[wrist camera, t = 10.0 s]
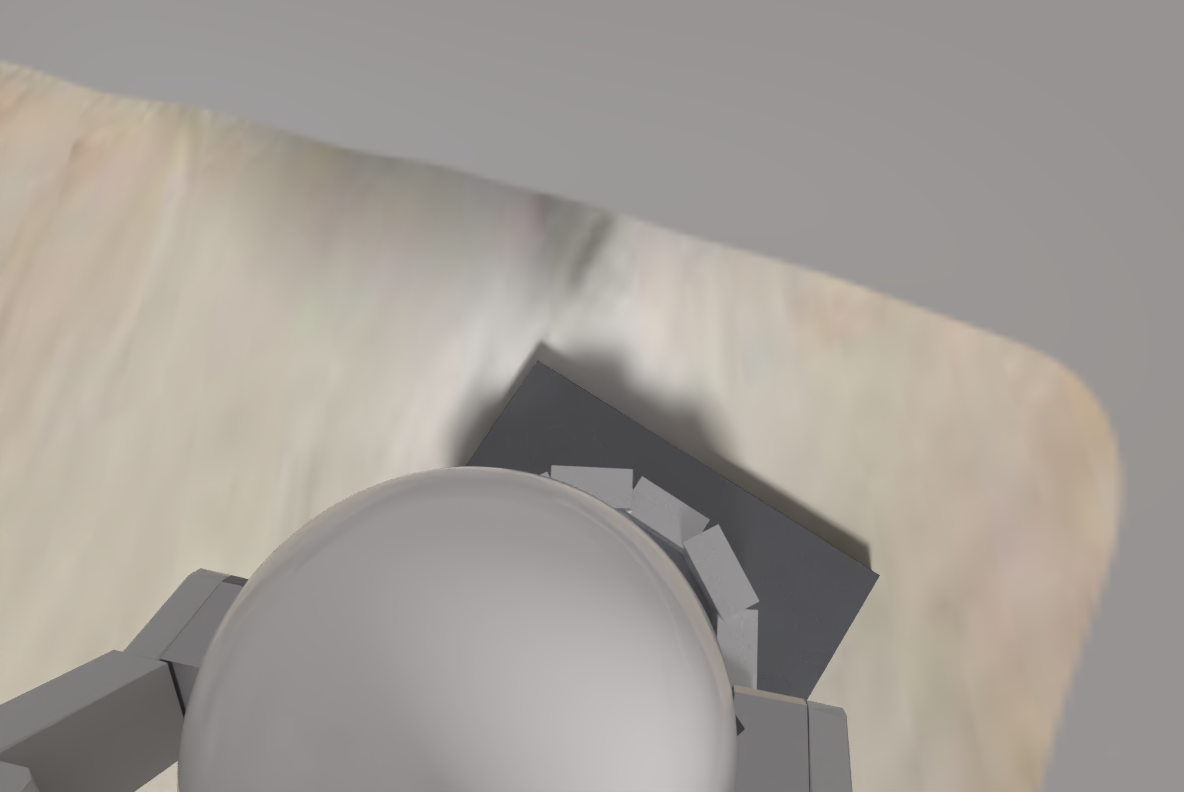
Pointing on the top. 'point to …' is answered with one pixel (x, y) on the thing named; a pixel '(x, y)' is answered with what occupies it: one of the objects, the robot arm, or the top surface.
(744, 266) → the top surface
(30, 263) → the top surface
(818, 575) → the lamp socket
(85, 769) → the robot arm
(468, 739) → the lightbulb
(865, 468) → the top surface
